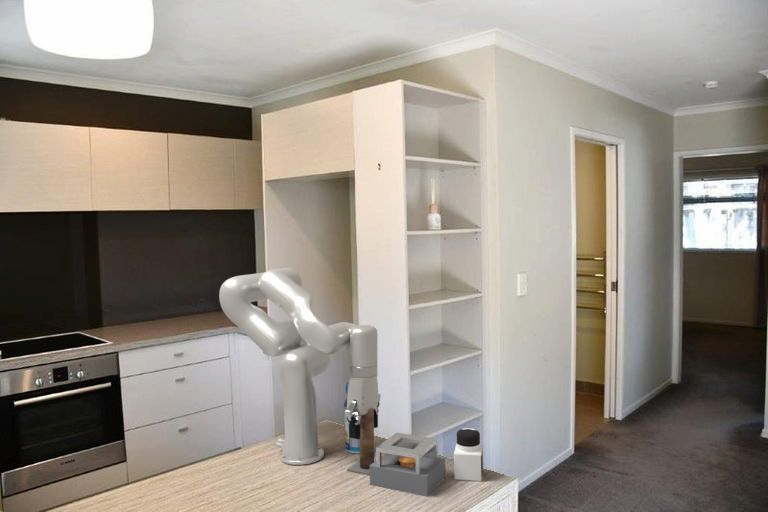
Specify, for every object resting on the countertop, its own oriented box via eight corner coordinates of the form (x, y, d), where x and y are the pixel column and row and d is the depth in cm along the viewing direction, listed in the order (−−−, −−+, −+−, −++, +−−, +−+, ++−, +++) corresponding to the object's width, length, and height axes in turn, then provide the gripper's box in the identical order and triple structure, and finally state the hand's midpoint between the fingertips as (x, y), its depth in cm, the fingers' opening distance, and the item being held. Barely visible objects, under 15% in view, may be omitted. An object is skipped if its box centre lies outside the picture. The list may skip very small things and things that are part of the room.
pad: (346, 470, 160) (346, 469, 160) (361, 460, 167) (361, 458, 167) (372, 475, 156) (372, 474, 156) (386, 464, 163) (386, 463, 163)
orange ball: (395, 481, 151) (395, 460, 151) (403, 474, 155) (403, 454, 155) (412, 484, 149) (412, 463, 149) (420, 477, 153) (420, 456, 153)
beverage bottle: (359, 456, 169) (357, 388, 168) (338, 450, 175) (336, 383, 174) (378, 448, 176) (376, 382, 175) (357, 442, 181) (356, 378, 180)
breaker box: (370, 484, 151) (369, 465, 150) (391, 467, 161) (390, 449, 161) (427, 496, 143) (426, 476, 143) (445, 477, 154) (445, 458, 153)
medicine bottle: (482, 481, 151) (481, 435, 150) (454, 480, 152) (453, 434, 152) (483, 470, 158) (482, 426, 157) (456, 468, 159) (455, 425, 159)
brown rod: (357, 467, 160) (356, 409, 160) (364, 462, 164) (363, 405, 163) (369, 470, 159) (369, 411, 158) (376, 464, 162) (376, 407, 161)
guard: (376, 466, 149) (375, 447, 149) (397, 450, 160) (396, 432, 160) (419, 475, 144) (419, 454, 144) (438, 457, 154) (437, 438, 154)
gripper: (367, 362, 170) (367, 421, 170) (335, 376, 154) (335, 440, 155) (390, 365, 166) (390, 425, 167) (359, 380, 151) (359, 445, 152)
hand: (363, 432), depth 161 cm, fingers open, 9 cm apart
